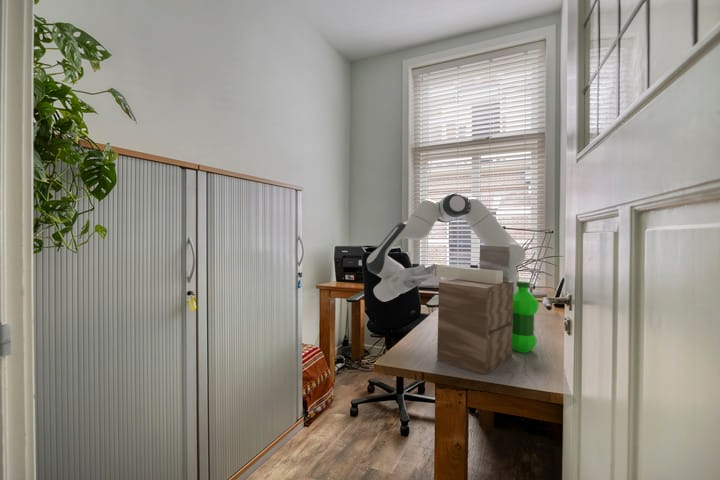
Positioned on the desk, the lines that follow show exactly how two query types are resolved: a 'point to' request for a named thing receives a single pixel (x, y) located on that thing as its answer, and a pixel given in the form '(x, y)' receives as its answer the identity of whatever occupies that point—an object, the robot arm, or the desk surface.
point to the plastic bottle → (523, 318)
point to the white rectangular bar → (469, 274)
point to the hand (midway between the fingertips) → (430, 265)
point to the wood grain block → (477, 317)
